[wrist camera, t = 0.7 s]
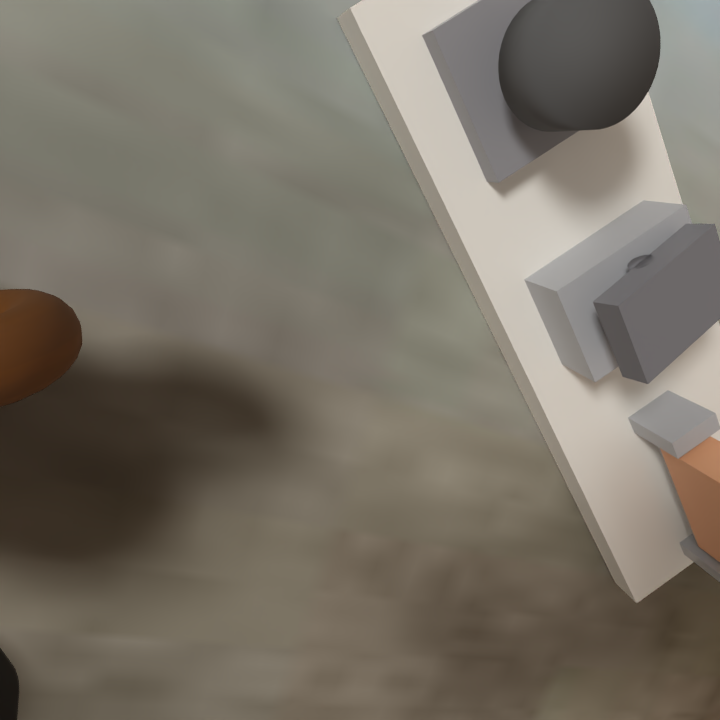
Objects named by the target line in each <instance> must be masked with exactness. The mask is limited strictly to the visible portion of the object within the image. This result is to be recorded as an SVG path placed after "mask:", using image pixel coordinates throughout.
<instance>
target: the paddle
mask: <svg viewBox="0 0 720 720" xmlns="http://www.w3.org/2000/svg"><path fill="white" fill-rule="evenodd" d="M659 450H660V452H661V455H662V457H663V460H664V462H665V465H666V467H667V470H668V473H669V475H670V478H671V480H672V483H673V485H674V488H675V490H676V493H677V495H678V498H679V501H680V503H681V506H682V508H683V511H684V513H685V516H686V518H687V521H688V523H689V526H690V528H691V531H692V534H693V536H694V539H695V541H696V543H697V544H698V546H699V547H700V548H701V549H702V550H704V551H705V552H707V553H708V554H709V555H711V556H712V557H713V558H715V559H716V560H717V561H719V562H720V441H718V440H716V439H714V438H713V437H711V436H710V437H708V438H707V439H706V440H704V441H703V442H701V443H700V444H699V445H697V446H696V447H694V448H693V449H691V450H690V451H689V452H687V453H686V454H684V455H683V456H682V457H680V458H679V459H677V458H676V457H674V456H672V455H671V454H669V453H667V452H666V451H664V450H662V449H661V448H659Z"/></svg>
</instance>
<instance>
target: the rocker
mask: <svg viewBox="0 0 720 720" xmlns="http://www.w3.org/2000/svg"><path fill="white" fill-rule="evenodd" d="M627 267H628V269H629V272H628V273H627V274H625V275H624V276H623V277H622V278H621V279H619V280H618V281H617V282H616V283H615V284H613V285H612V286H611V287H610V288H609V289H607V290H606V291H605V292H604V293H603V294H601V295H600V296H599V297H598V298H597V299H595V300H594V301H593V304H594V307H595V309H596V312H597V314H598V317H599V319H600V322H601V324H602V327H603V329H604V332H605V334H606V336H607V339H608V341H609V344H610V346H611V349H612V351H613V354H614V356H615V359H616V361H617V364H618V366H619V369H620V371H621V374H622V376H623V377H625V378H628V379H632V380H635V381H639V382H642V383H646V384H649V383H650V382H651V381H652V380H653V379H654V378H655V377H657V376H658V375H659V374H660V373H661V372H662V371H663V370H664V369H665V368H666V367H668V366H669V365H670V364H671V363H672V362H673V361H674V360H675V359H676V358H677V357H679V356H680V355H681V354H682V353H683V352H684V351H685V350H686V349H687V348H689V347H690V346H691V345H692V344H693V343H694V342H695V341H696V340H697V339H698V338H700V337H701V336H702V335H703V334H704V333H705V332H706V331H707V330H708V329H709V328H711V327H712V326H713V325H714V324H715V323H716V322H717V321H718V320H719V319H720V241H719V237H718V234H717V230H716V227H715V224H685V225H684V226H683V227H682V228H680V229H679V230H678V231H677V232H676V233H674V234H673V235H672V236H671V237H670V238H668V239H667V240H666V241H665V242H664V243H662V244H661V245H660V246H659V247H658V248H656V249H655V250H654V251H653V252H652V253H650V254H649V255H642V256H638V257H636V258H634V259H632V260H631V261H630V262H629V263H628V265H627Z"/></svg>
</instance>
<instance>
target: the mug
mask: <svg viewBox="0 0 720 720" xmlns="http://www.w3.org/2000/svg"><path fill="white" fill-rule="evenodd" d="M81 346H82V332H81V325H80V322H79V320H78V318H77V316H76V314H75V312H74V311H73V309H72V308H71V307H69V306H68V305H67V304H66V303H65V302H63V301H62V300H61V299H59V298H58V297H56V296H54V295H51V294H47V293H44V292H41V291H37V290H31V289H7V290H0V407H2V406H5V405H8V404H11V403H14V402H17V401H19V400H21V399H23V398H26V397H28V396H30V395H32V394H34V393H36V392H38V391H41V390H43V389H44V388H46V387H47V386H49V385H50V384H52V383H53V382H54V381H56V380H57V379H59V378H60V377H61V376H62V375H63V374H64V373H65V372H66V371H67V370H68V369H69V368H70V367H71V365H72V364H73V363H74V361H75V360H76V359H77V357H78V354H79V351H80V349H81Z"/></svg>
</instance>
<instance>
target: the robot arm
mask: <svg viewBox="0 0 720 720" xmlns="http://www.w3.org/2000/svg"><path fill="white" fill-rule="evenodd" d="M18 700H19V681H18V676H17V673H16V670H15V668H14V666H13V664H12V663H11V662H10V660H9V659H8V658H7V656H6V655H5V654H4V652H3V651H2V650H1V648H0V720H17V714H18Z"/></svg>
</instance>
